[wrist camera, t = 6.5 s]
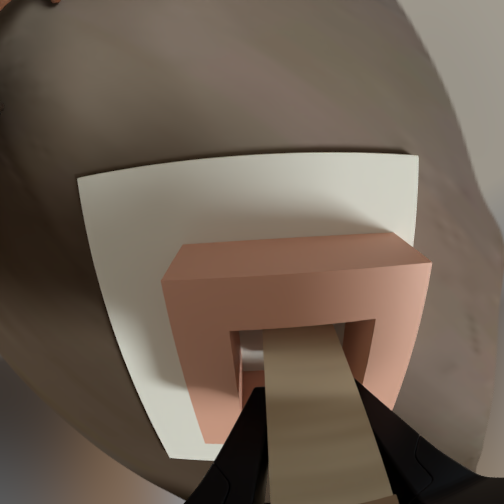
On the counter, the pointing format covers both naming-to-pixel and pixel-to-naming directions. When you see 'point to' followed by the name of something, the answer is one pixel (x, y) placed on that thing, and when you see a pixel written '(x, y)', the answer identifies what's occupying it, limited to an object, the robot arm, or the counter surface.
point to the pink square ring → (291, 311)
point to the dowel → (318, 423)
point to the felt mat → (222, 230)
